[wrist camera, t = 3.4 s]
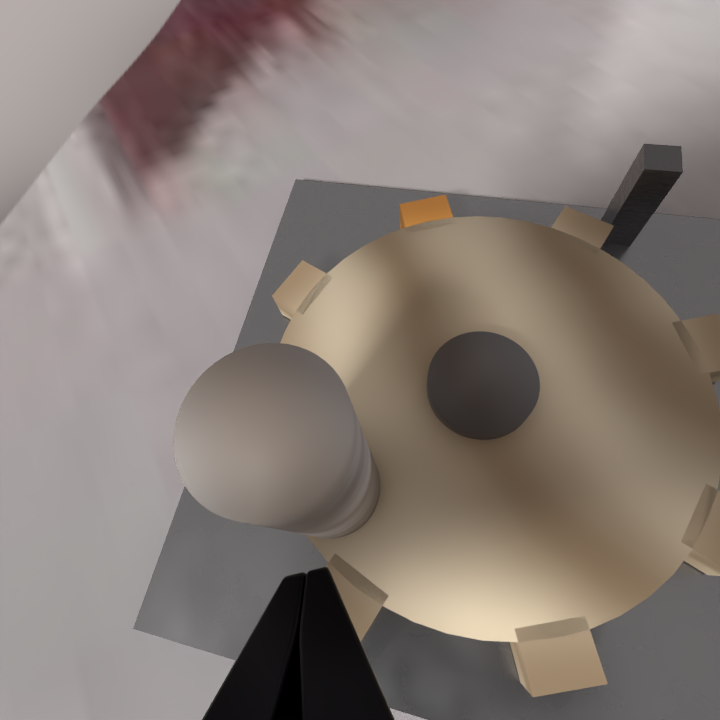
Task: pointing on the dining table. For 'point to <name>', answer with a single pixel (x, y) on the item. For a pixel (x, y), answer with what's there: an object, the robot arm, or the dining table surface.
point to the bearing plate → (392, 631)
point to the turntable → (475, 433)
